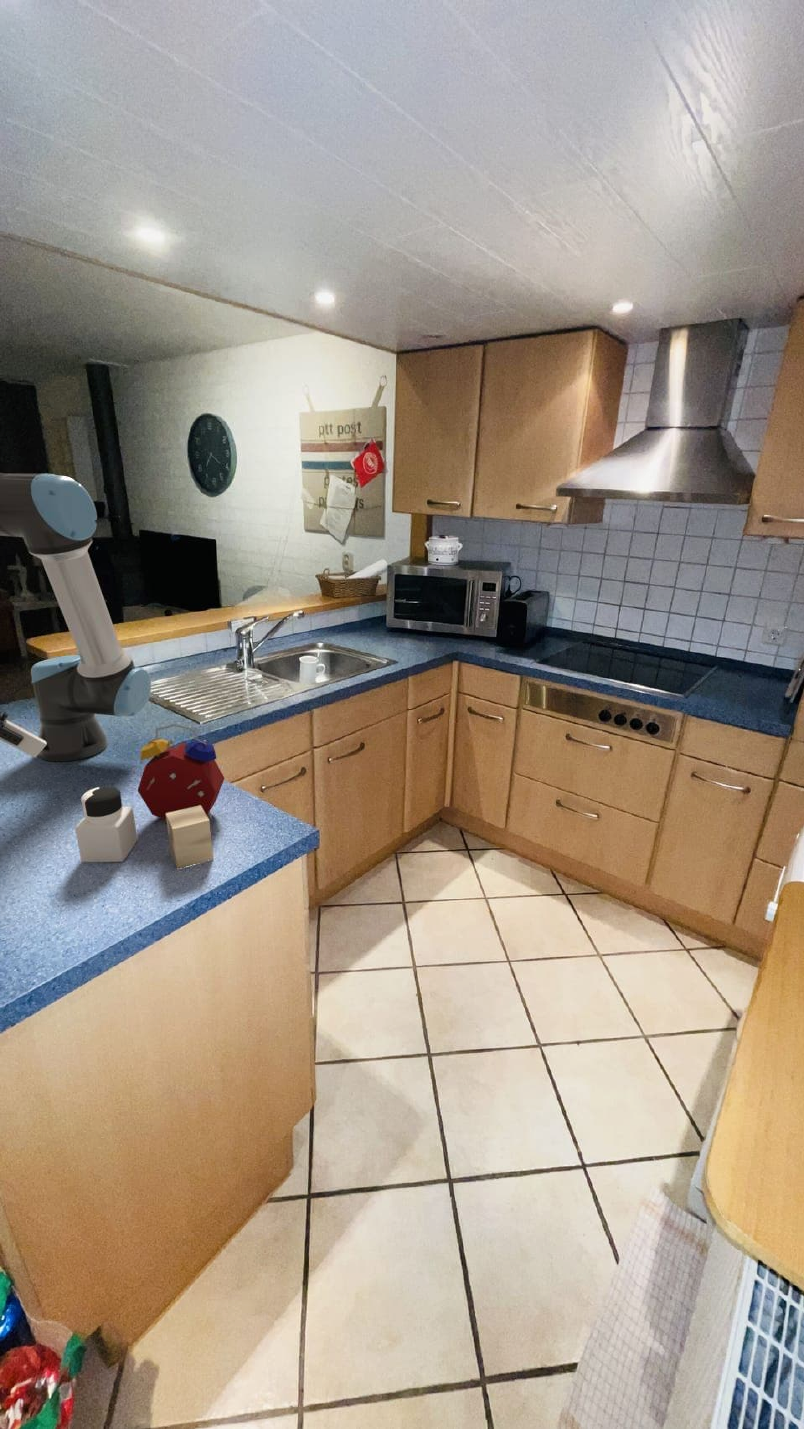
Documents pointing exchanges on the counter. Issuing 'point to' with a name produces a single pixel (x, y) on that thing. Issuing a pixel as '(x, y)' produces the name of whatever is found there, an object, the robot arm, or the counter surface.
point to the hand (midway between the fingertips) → (40, 749)
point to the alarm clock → (179, 775)
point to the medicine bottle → (105, 827)
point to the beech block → (189, 836)
